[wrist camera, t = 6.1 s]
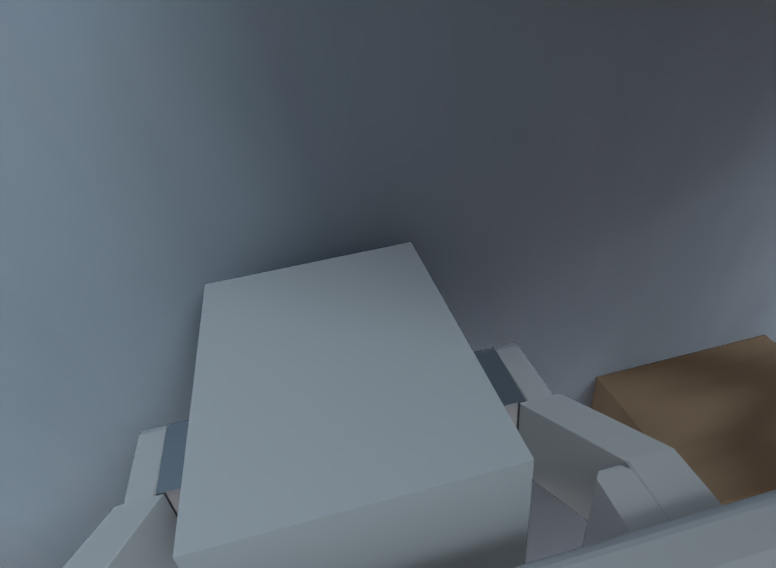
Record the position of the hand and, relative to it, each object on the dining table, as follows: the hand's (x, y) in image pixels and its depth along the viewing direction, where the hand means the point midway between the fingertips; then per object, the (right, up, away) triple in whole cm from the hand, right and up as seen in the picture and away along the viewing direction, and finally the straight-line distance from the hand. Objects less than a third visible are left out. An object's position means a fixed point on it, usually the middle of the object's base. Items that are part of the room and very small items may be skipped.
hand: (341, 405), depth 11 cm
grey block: (0, +1, +2) cm, 2 cm away
